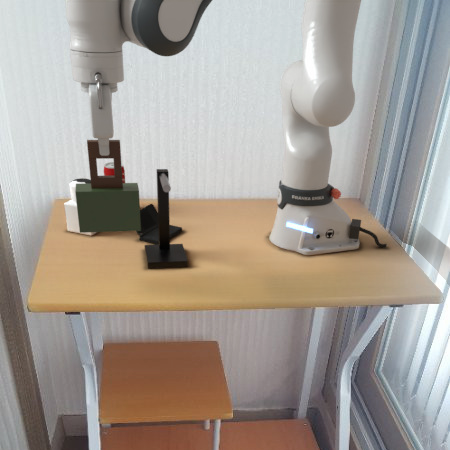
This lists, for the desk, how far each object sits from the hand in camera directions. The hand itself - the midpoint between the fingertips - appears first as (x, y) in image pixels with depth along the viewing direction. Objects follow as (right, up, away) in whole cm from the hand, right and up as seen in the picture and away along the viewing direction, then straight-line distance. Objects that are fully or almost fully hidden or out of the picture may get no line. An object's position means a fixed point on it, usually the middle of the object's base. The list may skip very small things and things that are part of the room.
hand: (104, 152), depth 110 cm
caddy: (-1, -11, +9) cm, 14 cm away
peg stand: (+9, -14, +25) cm, 30 cm away
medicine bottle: (-12, -3, +38) cm, 40 cm away
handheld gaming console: (+5, -5, +37) cm, 38 cm away
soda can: (-7, +6, +50) cm, 51 cm away
